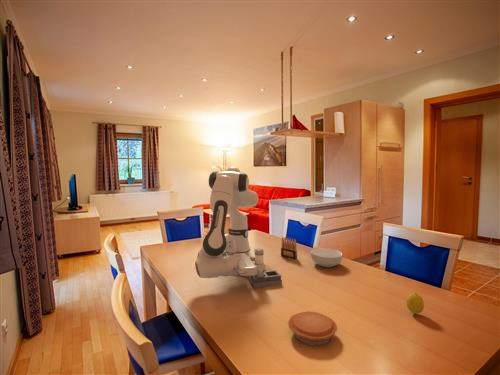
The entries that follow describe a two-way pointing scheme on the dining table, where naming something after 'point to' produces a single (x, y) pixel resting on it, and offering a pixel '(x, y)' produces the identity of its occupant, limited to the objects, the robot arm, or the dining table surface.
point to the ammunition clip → (289, 248)
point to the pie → (312, 327)
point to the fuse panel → (266, 279)
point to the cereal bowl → (326, 257)
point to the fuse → (259, 262)
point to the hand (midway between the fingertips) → (260, 262)
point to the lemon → (415, 303)
